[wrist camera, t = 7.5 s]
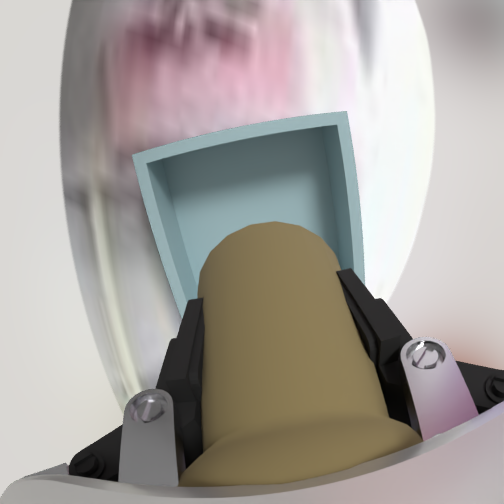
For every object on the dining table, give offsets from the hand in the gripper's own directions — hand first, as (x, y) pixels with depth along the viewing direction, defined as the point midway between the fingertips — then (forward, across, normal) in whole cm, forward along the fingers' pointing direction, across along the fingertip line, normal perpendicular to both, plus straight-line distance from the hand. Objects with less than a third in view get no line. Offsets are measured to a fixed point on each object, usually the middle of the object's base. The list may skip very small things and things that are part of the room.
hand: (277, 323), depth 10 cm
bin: (+14, 0, 0) cm, 14 cm away
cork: (+2, 0, 0) cm, 2 cm away
